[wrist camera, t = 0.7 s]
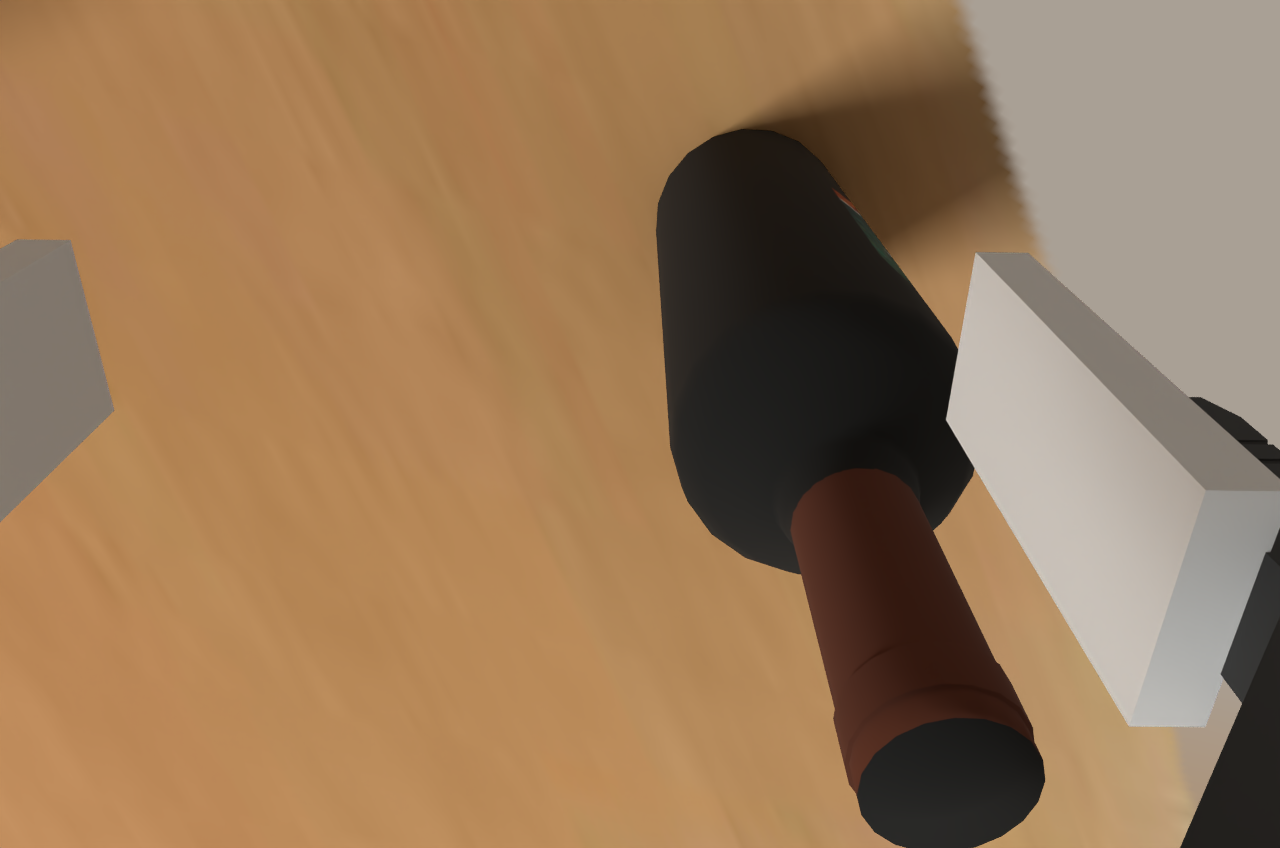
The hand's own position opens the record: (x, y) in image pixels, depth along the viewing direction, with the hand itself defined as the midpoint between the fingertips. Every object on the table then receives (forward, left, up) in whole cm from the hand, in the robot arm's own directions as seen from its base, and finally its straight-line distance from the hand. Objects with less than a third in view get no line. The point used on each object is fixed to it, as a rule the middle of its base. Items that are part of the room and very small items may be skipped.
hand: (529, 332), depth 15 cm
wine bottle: (+7, +6, -27) cm, 28 cm away
